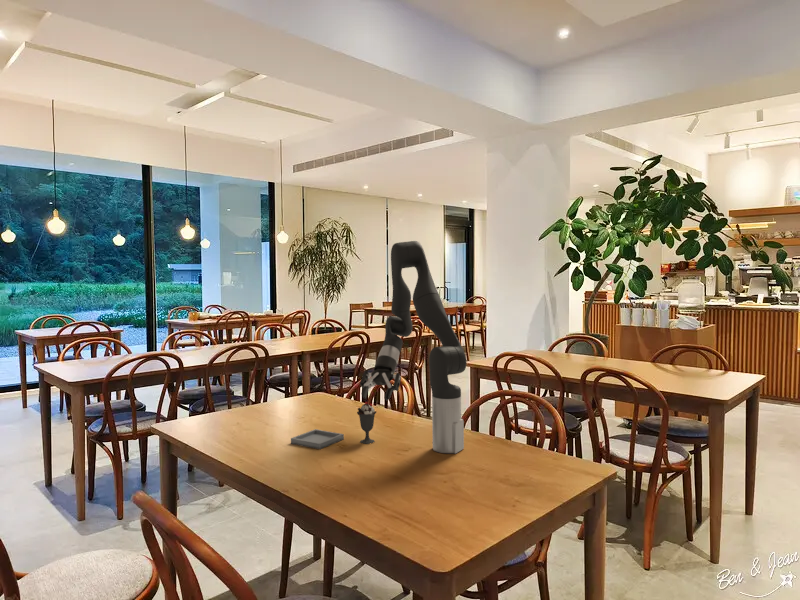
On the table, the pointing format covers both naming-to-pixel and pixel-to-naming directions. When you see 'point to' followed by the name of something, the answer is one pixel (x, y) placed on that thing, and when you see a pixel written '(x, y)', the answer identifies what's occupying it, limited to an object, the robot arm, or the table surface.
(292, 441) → the tray
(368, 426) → the sundae
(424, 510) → the table surface
